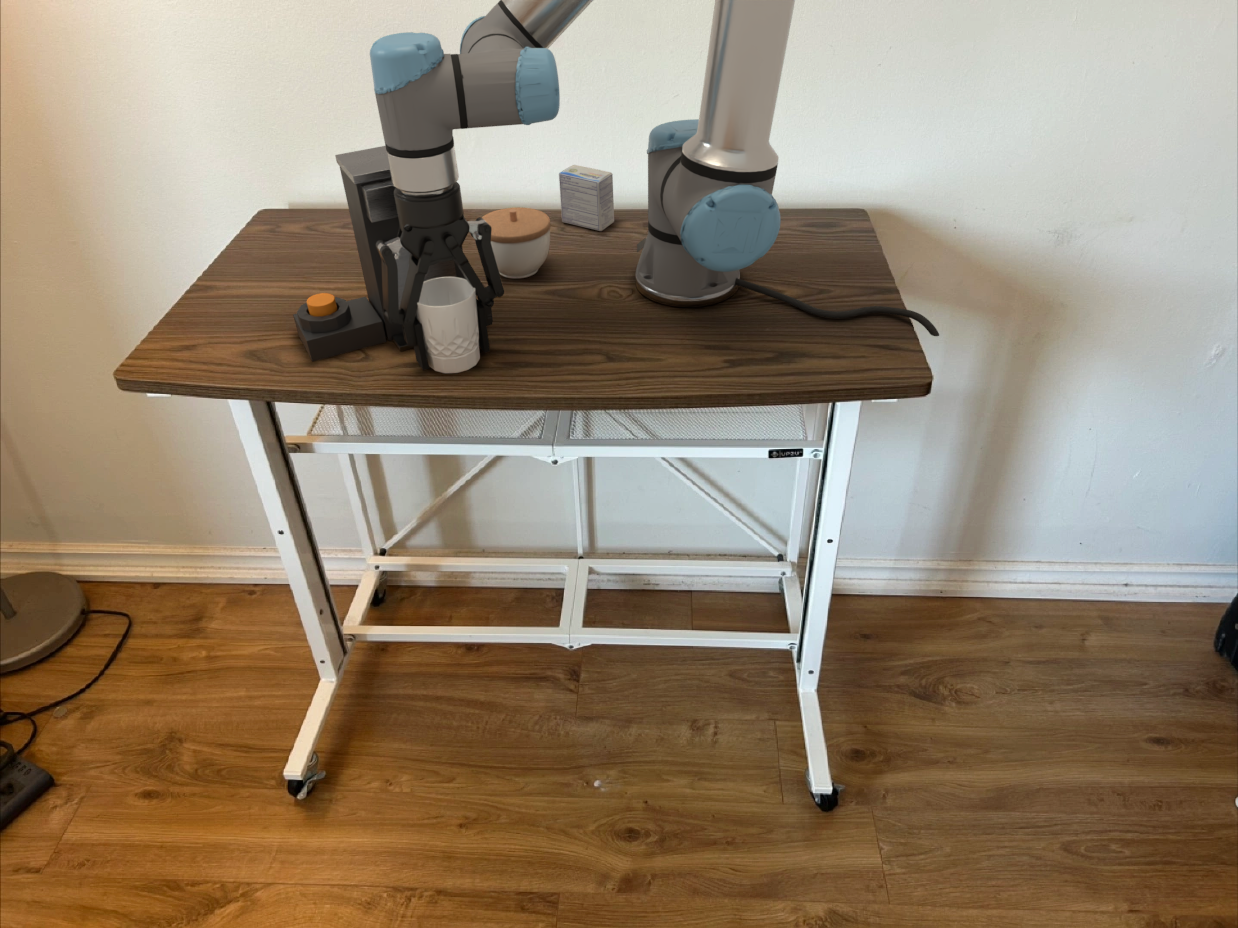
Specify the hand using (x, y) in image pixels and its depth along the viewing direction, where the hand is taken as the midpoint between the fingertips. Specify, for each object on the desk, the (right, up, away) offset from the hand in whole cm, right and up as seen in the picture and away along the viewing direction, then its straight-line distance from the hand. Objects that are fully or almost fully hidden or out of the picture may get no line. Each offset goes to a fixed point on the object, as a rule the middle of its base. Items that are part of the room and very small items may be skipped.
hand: (453, 355), depth 115 cm
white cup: (0, -1, +1) cm, 1 cm away
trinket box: (+6, +16, +21) cm, 27 cm away
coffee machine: (-5, +6, +8) cm, 11 cm away
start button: (-17, +6, +2) cm, 19 cm away
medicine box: (+16, +26, +34) cm, 46 cm away
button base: (-16, +3, +5) cm, 17 cm away
